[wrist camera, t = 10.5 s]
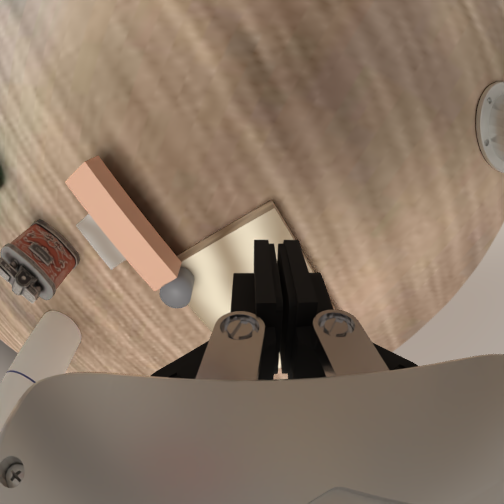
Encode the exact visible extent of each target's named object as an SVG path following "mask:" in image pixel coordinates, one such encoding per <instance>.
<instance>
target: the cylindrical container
mask: <svg viewBox="0 0 504 504" xmlns="http://www.w3.org/2000/svg"><path fill="white" fill-rule="evenodd" d="M81 339H82V338H81V332H80V330H79V328H78V326H77V325H76V324H75V322H74V321H73V320H72V319H70V318H69V317H68V316H66V315H65V314H63V313H61V312H58V311H48V312H46V313H45V314H44V315H43V317H42V318H41V319H40V321H39V322H38V324H37V325H36V327H35V328H34V330H33V331H32V333H31V334H30V336H29V337H28V339H27V340H26V342H25V343H24V345H23V346H22V348H21V350H20V351H19V353H18V355H17V356H16V358H15V359H14V361H13V363H12V364H11V366H10V367H9V369H8V371H7V372H6V374H5V376H4V377H3V379H2V381H1V383H0V432H1V430H2V428H3V426H4V424H5V422H6V420H7V418H8V416H9V415H10V413H11V411H12V410H13V408H14V407H15V405H16V403H17V402H18V400H19V399H20V398H21V396H22V395H23V394H24V393H25V391H26V390H27V389H28V388H29V387H30V386H32V385H33V384H34V383H36V382H37V381H39V380H41V379H44V378H47V377H51V376H54V375H60V374H65V372H66V370H67V368H68V366H69V364H70V362H71V360H72V358H73V356H74V354H75V352H76V350H77V348H78V346H79V344H80V342H81Z"/></svg>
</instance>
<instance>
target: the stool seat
mask: <svg viewBox="0 0 504 504" xmlns="http://www.w3.org/2000/svg"><path fill="white" fill-rule="evenodd" d="M76 226H77V228H78V229H79V230H80V231H81V233H82V234H83V235H84V237H85V238H86V239H87V240H88V242H89V243H90V244H91V246H92V247H93V248H94V249H95V251H96V252H97V253H98V254H99V255H100V257H101V258H102V259H103V260H104V262H105V263H106V264H107V265H108V266H109V268H110V269H111V270H112V269H113V268H115V267H116V266H117V265H119V264H120V263H122V262H123V261H125V260H126V259H125V257H124V256H123V255H122V254H121V253H120V252H119V250H118V249H117V248H116V247H115V246H114V244H113V243H112V242H111V241H110V240H109V238H108V237H107V236H106V235H105V233H104V232H103V231H102V230H101V228H100V227H99V226H98V225H97V223H96V222H95V221H94V220H93V218H92V217H91V216H90V215H89V214H88V215H87V216H86V217H85V218H83V219H82V220H81V221H80V222H79V223H78V224H77V225H76ZM254 240H268V241H269V244H274V246H275V253H276V259H277V255H278V244H283V241H284V240H296V239H295V237H294V236H293V234H292V232H291V231H290V229H289V227H288V226H287V224H286V222H285V221H284V219H283V217H282V216H281V214H280V212H279V211H278V209H277V207H276V206H275V204H274V202H273V201H272V200H271V201H269V202H268V203H266V204H264V205H262V206H261V207H259V208H257V209H255V210H254V211H252V212H250V213H249V214H247V215H245V216H243V217H242V218H240V219H238V220H236V221H235V222H233V223H231V224H230V225H228V226H226V227H225V228H223V229H221V230H219V231H218V232H216V233H214V234H213V235H211V236H209V237H208V238H206V239H204V240H203V241H201V242H199V243H198V244H196V245H194V246H193V247H191V248H189V249H188V250H186V251H184V252H183V253H181V254H179V255H178V256H177V257H178V258H179V260H180V261H181V262H182V263H181V267H184V268H186V269H188V270H189V271H190V272H191V273H192V274H193V276H194V286H193V291H192V295H191V300H190V302H189V304H188V306H189V307H190V308H191V309H192V311H193V312H194V313H195V314H196V315H197V316H198V317H199V318H200V319H201V321H202V322H203V323H204V324H205V325H206V326H207V327H208V328H209V329H210V331H211V332H212V331H213V329H214V326H215V323H216V322H217V320H218V319H219V318H220V317H221V316H223V315H225V314H227V313H230V311H231V298H232V285H233V274H234V273H254ZM302 252H303V251H302ZM303 255H304V259H305V262H306V265H307V268H308V271H309V273H315V272H314V270H313V268H312V267H311V265H310V263H309V261H308V260H307V258H306V256H305V254H304V253H303ZM331 303H332V302H331ZM332 306H333V309H334V310H336V309H335V307H334V305H333V304H332ZM278 368H281V359H280V353H279V364H278Z"/></svg>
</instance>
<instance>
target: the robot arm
mask: <svg viewBox="0 0 504 504" xmlns="http://www.w3.org/2000/svg"><path fill="white" fill-rule="evenodd" d="M476 131H477V138H478V143H479V146H480V149H481V152H482V154H483V156H484V158H485V160H486V161H487V162H488V164H489V165H490V166H491V167H493V168H494V169H495V170H497V171H499V172H502V173H504V82H495V83H493V84H491V85H489V86H488V87H487V88H486V89H485V91H484V92H483V94H482V96H481V98H480V101H479V104H478V108H477V115H476ZM279 353H280V359H281V369H282V374H284V373H288V379H280V380H273V376H274V374H277V373H278V364H279ZM0 504H504V354H488V355H479V356H473V357H468V358H462V359H457V360H450V361H446V362H440V363H435V364H429V365H423V366H418V365H416V364H414V363H413V362H411V361H409V360H407V359H405V358H402V357H401V356H398V355H396V354H394V353H392V352H390V351H388V350H386V349H384V348H382V347H380V346H378V345H376V344H374V343H372V341H371V340H370V338H369V337H368V335H367V334H366V332H365V331H364V329H363V327H362V326H361V324H360V323H359V321H358V320H357V319H356V318H355V317H354V316H353V315H351V314H350V313H348V312H345V311H342V310H334V309H333V306H332V303H331V300H330V297H329V295H328V292H327V289H326V286H325V284H324V281H323V278H322V275H321V273H309V271H308V268H307V265H306V262H305V259H304V255H303V252H302V249H301V246H300V243H299V240H284V241H283V244H278V255H277V259H276V253H275V246H274V244H269V241H268V240H254V273H234V274H233V285H232V298H231V311H230V313H227V314H225V315H223V316H221V317H220V318H219V319H218V320H217V322H216V323H215V326H214V329H213V331H212V334H211V337H210V340H209V341H208V342H206V343H204V344H203V345H201V346H199V347H198V348H196V349H194V350H193V351H191V352H189V353H187V354H186V355H184V356H182V357H181V358H179V359H177V360H175V361H174V362H172V363H170V364H168V365H167V366H165V367H163V368H161V369H160V370H158V371H156V372H155V373H154V374H152V375H151V376H144V375H130V374H117V373H107V372H74V373H66V374H60V375H54V376H51V377H47V378H44V379H41V380H39V381H37V382H36V383H34V384H33V385H32V386H30V387H29V388H28V389H27V390H26V391H25V393H24V394H23V395H22V396H21V398H20V399H19V400H18V402H17V403H16V405H15V407H14V408H13V410H12V411H11V413H10V415H9V416H8V418H7V420H6V422H5V424H4V426H3V428H2V430H1V432H0Z"/></svg>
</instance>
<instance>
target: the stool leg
mask: <svg viewBox="0 0 504 504" xmlns="http://www.w3.org/2000/svg"><path fill="white" fill-rule="evenodd" d="M65 183H66V184H67V186H68V187H69V188H70V190H71V191H72V192H73V194H74V195H75V196H76V198H77V199H78V200H79V202H80V203H81V204H82V206H83V207H84V208H85V209H86V211H87V212H88V213H89V215H90V216H91V217H92V218H93V220H94V221H95V222H96V223H97V225H98V226H99V227H100V228H101V230H102V231H103V232H104V233H105V235H106V236H107V237H108V238H109V240H110V241H111V242H112V243H113V244H114V246H115V247H116V248H117V249H118V250H119V252H120V253H121V254H122V255H123V256H124V257H125V259H126V260H127V261H128V262H129V263H130V264H131V266H132V267H133V268H134V269H135V270H136V271H137V272H138V274H139V275H140V276H141V277H142V278H143V279H144V280H145V281H146V283H147V284H148V285H149V286H150V287H151V288H152V289H153V290H154V291H156V290H158V289H160V288H161V289H160V298H161V300H162V301H163V302H164V303H165V304H166V305H168V306H169V307H172V308H182V307H185V306H186V305H188V304H189V302H190V300H191V295H192V291H193V286H194V276H193V274H192V273H191V272H190V271H189V270H188V269H186V268H184V267H181V263H182V262H181V261H180V260H179V258H178V257H177V256H176V255H175V254H174V252H173V251H172V250H171V249H170V248H169V246H168V245H167V244H166V243H165V241H164V240H163V239H162V238H161V237H160V235H159V234H158V233H157V232H156V230H155V229H154V228H153V227H152V225H151V224H150V223H149V222H148V220H147V219H146V218H145V216H144V215H143V214H142V213H141V211H140V210H139V209H138V208H137V206H136V205H135V204H134V202H133V201H132V200H131V199H130V197H129V196H128V195H127V193H126V192H125V191H124V189H123V188H122V187H121V185H120V184H119V183H118V181H117V180H116V179H115V177H114V176H113V175H112V173H111V172H110V171H109V169H108V168H107V167H106V165H105V164H104V163H103V161H102V160H101V159H100V157H99V156H96V157H94V158H92V159H89V160H87V161H85V162H84V163H83V164H82V165H81V166H80V167H79V168H78V169H77V170H76V171H75V172H74V173H73V174H72V175H71V176H70V177H69V178H68V179H67V180H66V181H65Z"/></svg>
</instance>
